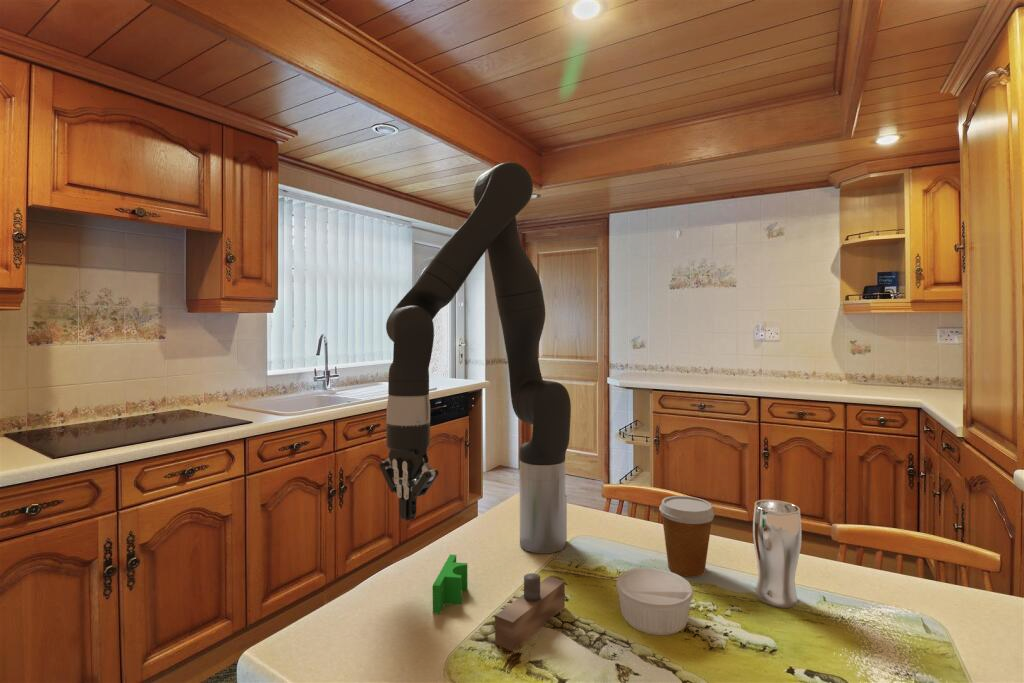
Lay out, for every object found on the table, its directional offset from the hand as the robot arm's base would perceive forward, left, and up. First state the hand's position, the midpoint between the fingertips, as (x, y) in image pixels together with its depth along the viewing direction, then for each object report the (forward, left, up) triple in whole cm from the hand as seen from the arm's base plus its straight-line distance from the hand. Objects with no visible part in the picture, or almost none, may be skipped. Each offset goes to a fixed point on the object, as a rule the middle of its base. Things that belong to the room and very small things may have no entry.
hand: (407, 518), depth 91 cm
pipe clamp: (0, +11, -11) cm, 15 cm away
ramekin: (-12, +40, -11) cm, 43 cm away
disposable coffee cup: (-31, +39, -11) cm, 51 cm away
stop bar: (0, +26, -10) cm, 28 cm away
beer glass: (-29, +54, -11) cm, 62 cm away
